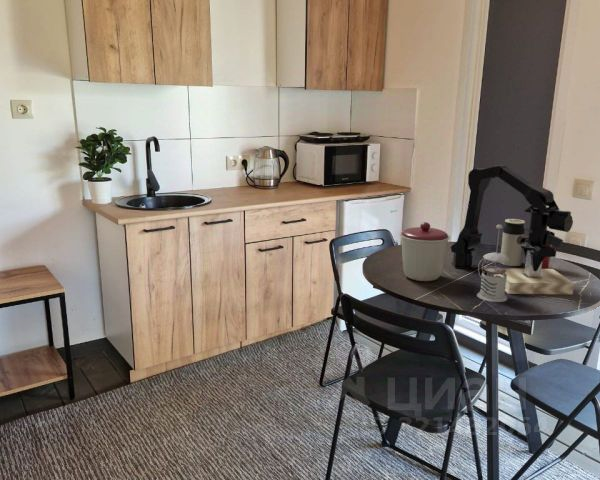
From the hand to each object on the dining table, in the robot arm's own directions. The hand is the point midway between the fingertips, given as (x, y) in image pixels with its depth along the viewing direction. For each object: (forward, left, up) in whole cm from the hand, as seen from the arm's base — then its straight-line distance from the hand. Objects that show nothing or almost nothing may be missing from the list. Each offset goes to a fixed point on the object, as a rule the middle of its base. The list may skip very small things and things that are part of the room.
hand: (532, 269), depth 183 cm
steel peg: (0, 0, -4) cm, 4 cm away
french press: (-18, -10, -7) cm, 22 cm away
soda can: (+12, +21, -7) cm, 25 cm away
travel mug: (+3, +27, -7) cm, 28 cm away
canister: (-37, +9, -7) cm, 39 cm away
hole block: (0, 0, -6) cm, 6 cm away
